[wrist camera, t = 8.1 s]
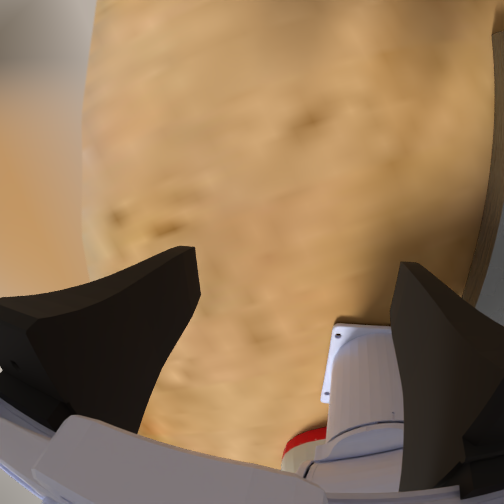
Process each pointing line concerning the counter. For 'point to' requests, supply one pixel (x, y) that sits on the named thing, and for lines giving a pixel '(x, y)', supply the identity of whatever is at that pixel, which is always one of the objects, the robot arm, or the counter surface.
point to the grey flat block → (492, 214)
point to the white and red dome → (302, 449)
